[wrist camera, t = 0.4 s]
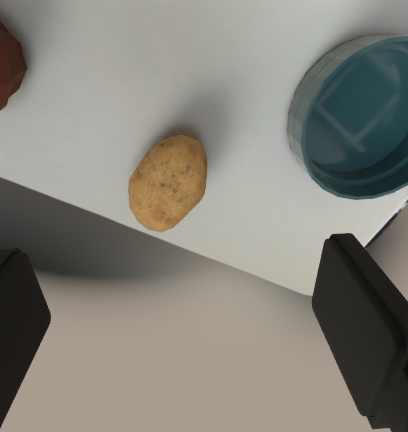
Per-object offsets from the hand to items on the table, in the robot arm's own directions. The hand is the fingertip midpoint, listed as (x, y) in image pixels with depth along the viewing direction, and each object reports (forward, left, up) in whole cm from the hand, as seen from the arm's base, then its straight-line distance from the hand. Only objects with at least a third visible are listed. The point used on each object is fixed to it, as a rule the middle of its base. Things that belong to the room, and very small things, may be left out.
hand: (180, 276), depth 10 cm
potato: (+10, -3, -35) cm, 37 cm away
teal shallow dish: (+4, +23, -35) cm, 42 cm away
